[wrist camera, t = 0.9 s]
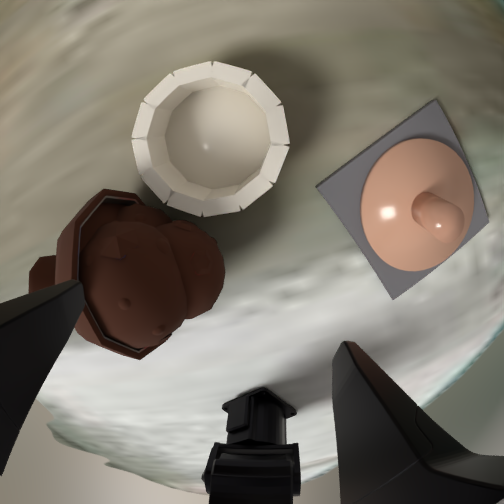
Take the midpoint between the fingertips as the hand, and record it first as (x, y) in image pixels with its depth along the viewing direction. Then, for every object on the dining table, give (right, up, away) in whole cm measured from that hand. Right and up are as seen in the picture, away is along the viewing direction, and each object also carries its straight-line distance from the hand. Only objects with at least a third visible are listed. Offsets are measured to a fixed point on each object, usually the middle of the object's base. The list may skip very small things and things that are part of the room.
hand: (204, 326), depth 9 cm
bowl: (-1, +10, +10) cm, 14 cm away
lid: (+14, +6, +10) cm, 19 cm away
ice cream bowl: (-15, -1, +11) cm, 19 cm away
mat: (+14, +6, +11) cm, 19 cm away
